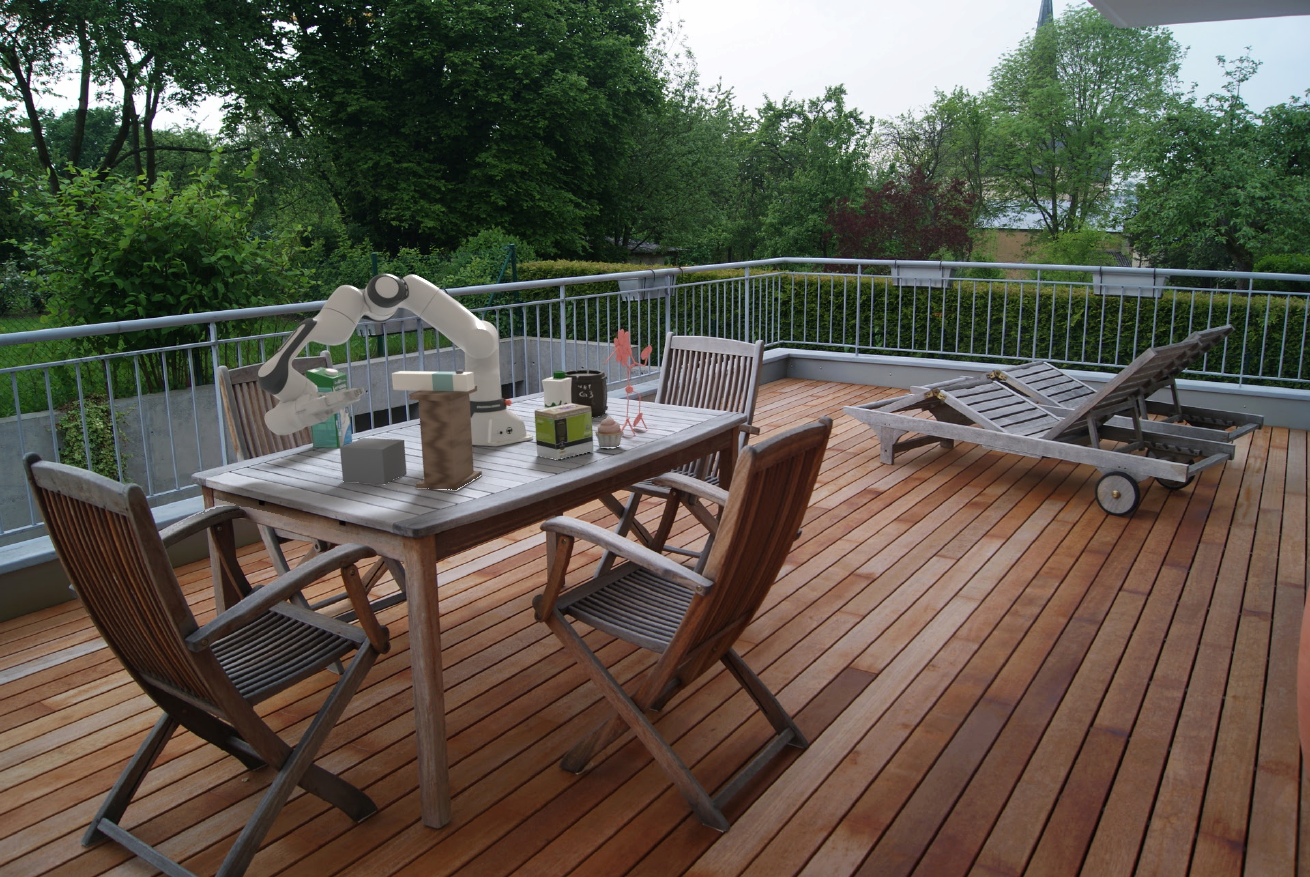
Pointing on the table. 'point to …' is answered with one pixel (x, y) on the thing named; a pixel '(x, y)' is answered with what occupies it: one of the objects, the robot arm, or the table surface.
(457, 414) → the stand
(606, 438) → the cupcake
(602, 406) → the dark brown pot
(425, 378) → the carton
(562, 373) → the soya milk
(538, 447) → the tea box
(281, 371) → the robot arm
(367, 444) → the podium
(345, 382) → the milk carton
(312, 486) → the table surface
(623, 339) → the pink stick figure
